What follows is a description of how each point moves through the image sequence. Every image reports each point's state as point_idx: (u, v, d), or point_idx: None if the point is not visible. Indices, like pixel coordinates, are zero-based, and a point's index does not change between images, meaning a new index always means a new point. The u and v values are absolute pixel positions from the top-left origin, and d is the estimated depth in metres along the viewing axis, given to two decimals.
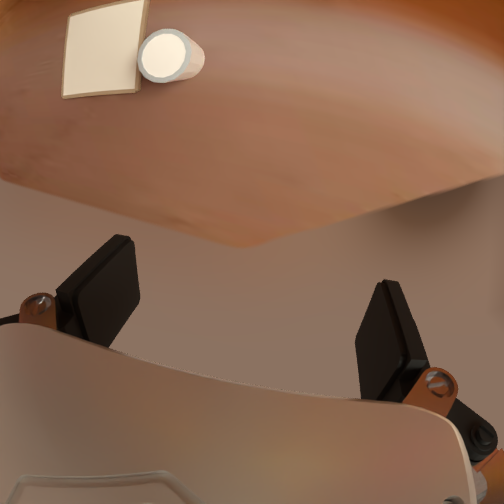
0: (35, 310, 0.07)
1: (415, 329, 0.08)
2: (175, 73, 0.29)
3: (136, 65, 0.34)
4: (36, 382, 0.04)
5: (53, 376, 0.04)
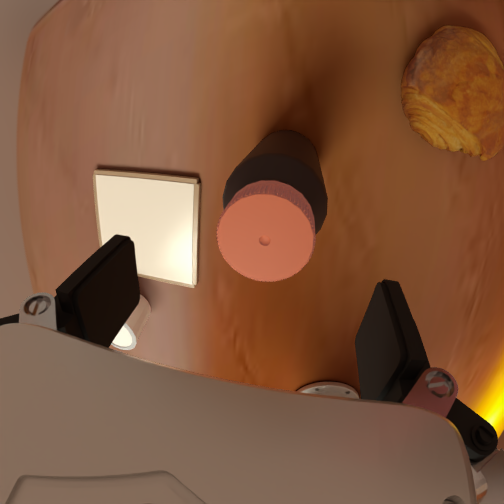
0: (35, 310, 0.07)
1: (415, 329, 0.08)
2: None
3: None
4: (36, 382, 0.04)
5: (53, 376, 0.04)
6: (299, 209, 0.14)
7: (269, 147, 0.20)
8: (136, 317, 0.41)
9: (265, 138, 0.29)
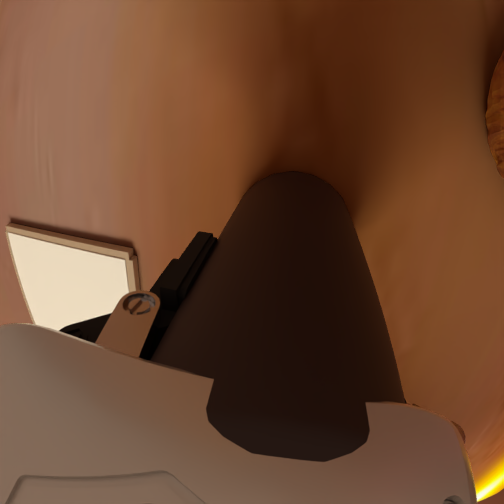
0: (136, 309, 0.08)
1: None
2: None
3: None
4: (36, 382, 0.04)
5: (53, 376, 0.04)
6: None
7: (276, 320, 0.06)
8: None
9: (261, 190, 0.14)
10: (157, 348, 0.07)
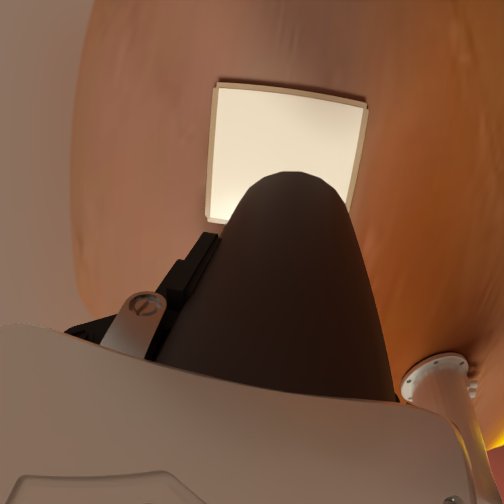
0: (142, 310, 0.08)
1: None
2: None
3: None
4: (36, 382, 0.04)
5: (53, 376, 0.04)
6: None
7: (296, 331, 0.06)
8: None
9: (270, 187, 0.14)
10: (167, 343, 0.07)
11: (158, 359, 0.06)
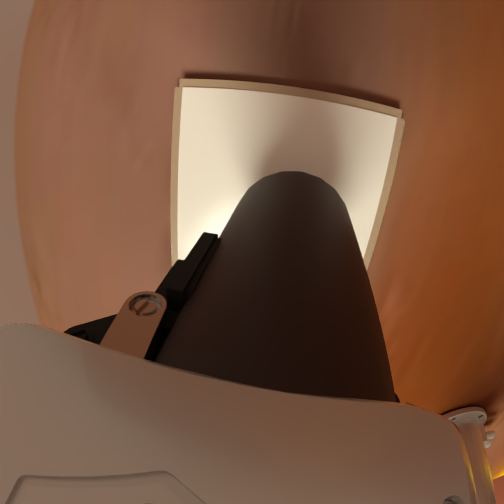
0: (142, 310, 0.08)
1: None
2: None
3: None
4: (36, 382, 0.04)
5: (53, 376, 0.04)
6: None
7: (296, 331, 0.06)
8: None
9: (270, 187, 0.14)
10: (167, 343, 0.07)
11: (158, 359, 0.06)
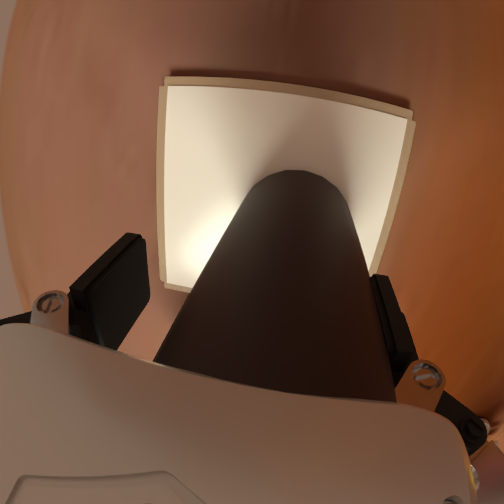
0: (48, 308, 0.07)
1: (403, 322, 0.08)
2: None
3: None
4: (36, 382, 0.04)
5: (53, 376, 0.04)
6: None
7: (298, 313, 0.06)
8: None
9: (274, 185, 0.15)
10: (175, 328, 0.07)
11: (166, 342, 0.07)
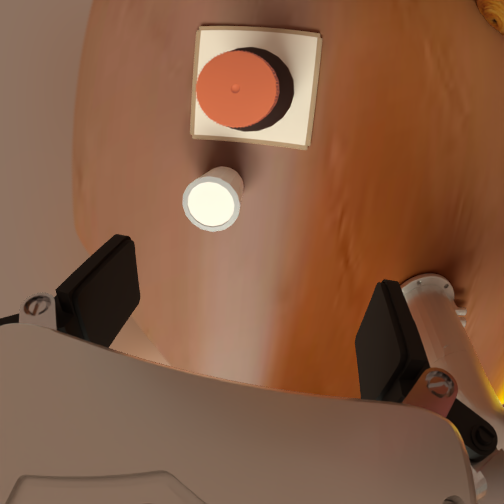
0: (35, 310, 0.07)
1: (415, 329, 0.08)
2: (191, 216, 0.36)
3: (220, 136, 0.37)
4: (36, 382, 0.04)
5: (53, 376, 0.04)
6: (270, 69, 0.15)
7: None
8: (237, 185, 0.36)
9: None
10: None
11: None
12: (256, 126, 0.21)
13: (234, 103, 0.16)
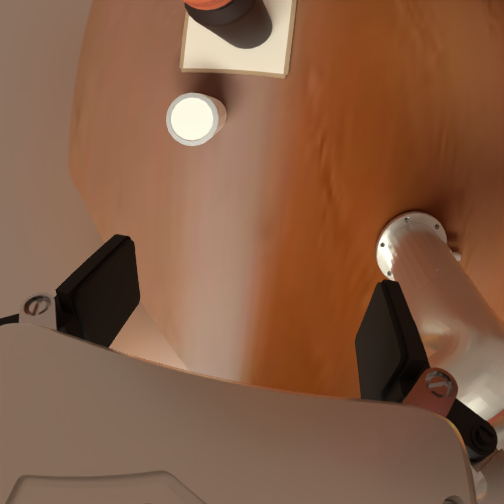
0: (35, 310, 0.07)
1: (415, 329, 0.08)
2: (173, 132, 0.36)
3: (206, 68, 0.37)
4: (36, 382, 0.04)
5: (53, 376, 0.04)
6: None
7: None
8: (218, 105, 0.36)
9: None
10: None
11: None
12: (224, 19, 0.21)
13: None
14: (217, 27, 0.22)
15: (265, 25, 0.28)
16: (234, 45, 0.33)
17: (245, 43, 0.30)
